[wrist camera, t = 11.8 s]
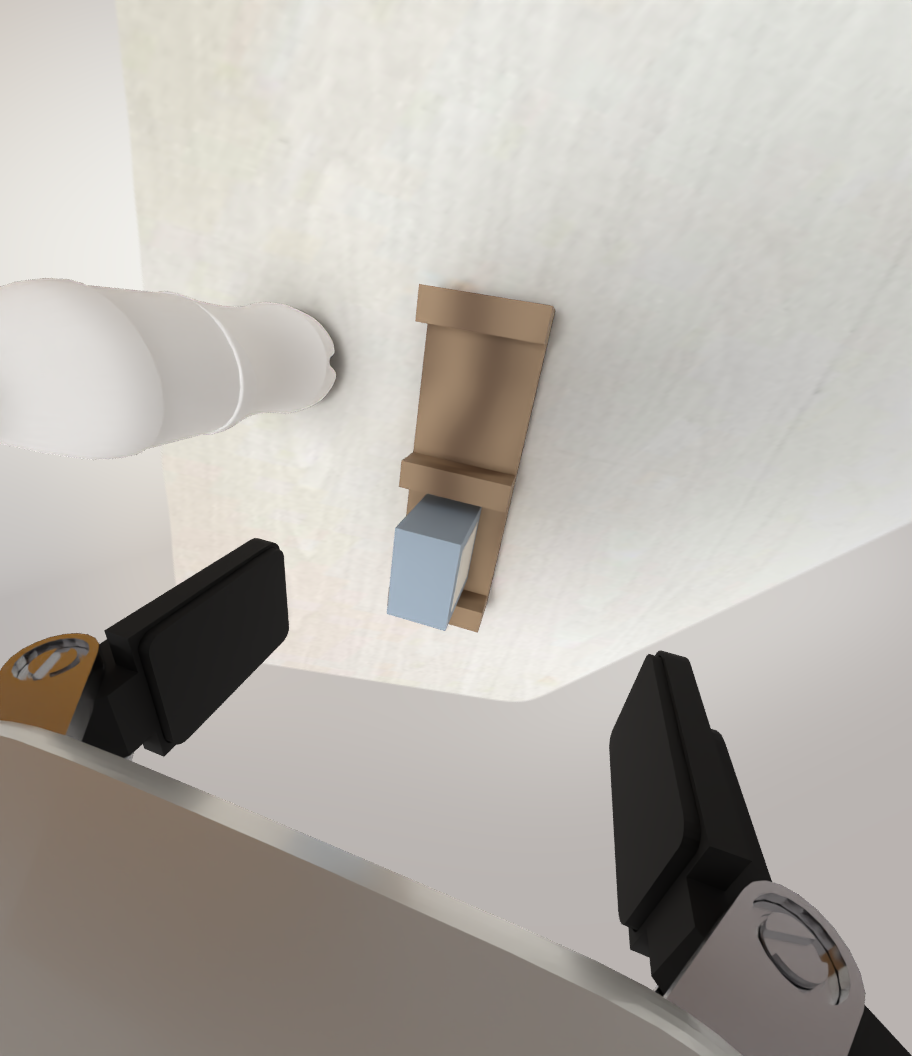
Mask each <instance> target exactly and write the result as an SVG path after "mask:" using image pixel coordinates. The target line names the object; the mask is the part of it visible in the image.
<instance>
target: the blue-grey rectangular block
mask: <svg viewBox="0 0 912 1056" xmlns="http://www.w3.org/2000/svg"><path fill="white" fill-rule="evenodd" d="M481 508H482V507H480V506H476V505H472V504H468V503H464V502H460V501H455V500H451V499H447V498H443V497H439V496H435V495H431V494H426V495H425V496H424V497H423V498H422V500H421V501H420V502H419V503H418V504H417V505H416V506H415V507H414V508H413V509H412V510H411V512H410V513H409V514H408V515H407V516H406V517H405V518H404V519H403V520H402V521H401V522H400V524H399V525H398V526H397V527H396V528H395V537H394V547H393V557H392V567H391V577H390V587H389V597H388V607H387V614H389V615H393V616H396V617H400V618H403V619H406V620H410V621H413V622H416V623H420V624H423V625H427V626H430V627H433V628H437V629H440V630H443V631H445V630H446V628H447V626H448V623H449V621H450V619H451V616H452V614H453V612H454V609H455V607H456V605H457V602H458V600H459V598H460V595H461V593H462V591H463V588H464V586H465V584H466V581H467V578H468V573H469V568H470V563H471V558H472V553H473V548H474V543H475V538H476V533H477V528H478V523H479V518H480V513H481Z"/></svg>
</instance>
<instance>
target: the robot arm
mask: <svg viewBox="0 0 912 1056" xmlns="http://www.w3.org/2000/svg"><path fill="white" fill-rule="evenodd" d="M288 631H289V621H288V608H287V594H286V581H285V567H284V555H283V552H282V551H281V550H280V549H279V546H278V545H277V544H276V543H273V542H269V541H266V540H262V539H258V538H254V539H251V540H250V541H248V542H246V543H245V544H243V545H242V546H240V547H238V548H237V549H235V550H234V551H232V552H230V553H229V554H227V555H225V556H224V557H222V558H221V559H219V560H217V561H216V562H214V563H213V564H211V565H209V566H208V567H206V568H205V569H203V570H201V571H200V572H198V573H196V574H195V575H193V576H192V577H190V578H188V579H187V580H185V581H184V582H182V583H180V584H179V585H177V586H175V587H174V588H172V589H171V590H169V591H167V592H166V593H164V594H163V595H161V596H159V597H158V598H156V599H155V600H153V601H152V602H150V603H148V604H146V605H145V606H143V607H142V608H140V609H138V610H137V611H135V612H134V613H132V614H130V615H129V616H127V617H126V618H124V619H122V620H121V621H119V622H117V623H116V624H114V625H113V626H111V627H110V628H108V629H106V630H105V634H106V637H107V640H105V641H104V642H102V643H101V644H99V643H98V641H97V640H96V638H94V637H92V636H90V635H88V634H81V633H71V634H62V635H57V636H53V637H49V638H46V639H43V640H41V641H38V642H35V643H33V644H31V645H29V646H27V647H25V648H23V649H22V650H20V651H19V652H17V653H16V654H15V655H13V656H12V657H11V658H10V659H9V660H8V661H7V662H6V663H5V664H4V665H3V667H2V668H1V670H0V1056H911V1054H910V1053H909V1052H908V1051H907V1050H906V1049H905V1048H904V1047H903V1046H902V1045H901V1044H900V1043H899V1041H898V1040H897V1039H896V1038H895V1037H894V1036H893V1035H892V1034H891V1033H890V1032H889V1031H888V1030H887V1028H886V1027H884V1025H883V1024H882V1023H881V1022H880V1021H879V1020H878V1019H877V1018H876V1017H875V1015H874V1014H873V1013H872V1012H871V1011H870V1010H869V1009H868V1008H867V1007H866V1006H865V1005H864V1003H865V990H864V985H863V982H862V977H861V973H860V971H859V969H858V967H857V964H856V962H855V960H854V958H853V956H852V954H851V952H850V950H849V948H848V947H847V946H846V944H845V943H844V941H843V940H842V938H841V937H840V936H839V934H838V933H837V931H836V930H835V928H834V927H833V926H832V925H831V924H830V923H829V922H828V921H827V920H826V919H825V918H824V916H823V915H822V914H821V913H820V912H819V911H818V910H817V909H816V908H815V907H813V906H812V905H811V904H809V902H807V901H806V900H805V899H804V898H802V897H801V896H800V895H799V894H797V893H795V892H793V891H791V890H790V889H788V888H786V887H784V886H782V885H780V884H776V883H773V882H772V880H771V878H770V875H769V872H768V869H767V866H766V863H765V860H764V857H763V854H762V851H761V848H760V845H759V842H758V839H757V836H756V833H755V830H754V827H753V824H752V821H751V818H750V815H749V812H748V809H747V807H746V803H745V801H744V798H743V794H742V792H741V789H740V786H739V783H738V780H737V777H736V774H735V772H734V768H733V765H732V762H731V759H730V756H729V753H728V750H727V747H726V744H725V742H724V739H723V737H722V735H721V734H720V733H719V732H717V731H716V730H713V729H711V728H710V725H709V722H708V719H707V716H706V712H705V709H704V706H703V703H702V700H701V696H700V693H699V690H698V687H697V684H696V680H695V677H694V674H693V671H692V667H691V664H690V662H689V660H688V659H687V658H686V657H682V656H679V655H675V654H671V653H668V652H664V651H658V652H657V653H656V655H655V656H654V655H651V654H648V655H647V656H646V658H645V660H644V662H643V665H642V667H641V669H640V671H639V673H638V676H637V678H636V680H635V682H634V684H633V687H632V689H631V691H630V693H629V695H628V698H627V700H626V702H625V704H624V706H623V708H622V711H621V713H620V715H619V717H618V719H617V722H616V724H615V726H614V728H613V730H612V733H611V737H610V745H609V749H610V750H609V751H610V767H611V768H610V769H611V788H612V804H613V805H612V806H613V824H614V842H615V860H616V879H617V895H618V896H617V897H618V912H619V918H620V922H621V923H622V924H623V925H625V926H627V927H629V940H630V949H631V950H633V951H635V952H638V953H640V954H642V955H645V956H647V957H649V958H650V966H651V976H652V977H653V979H654V980H655V982H656V983H657V986H656V987H655V989H654V990H651V989H649V988H648V987H646V986H644V985H642V984H640V983H638V982H636V981H634V980H632V979H630V978H628V977H626V976H624V975H622V974H620V973H619V972H617V971H615V970H612V969H611V968H609V967H607V966H605V965H603V964H601V963H599V962H597V961H595V960H593V959H591V958H588V957H586V956H584V955H582V954H579V953H577V952H575V951H573V950H571V949H569V948H566V947H564V946H562V945H560V944H558V943H555V942H553V941H551V940H549V939H546V938H544V937H542V936H540V935H538V934H535V933H533V932H531V931H529V930H527V929H524V928H522V927H520V926H518V925H515V924H513V923H511V922H509V921H507V920H504V919H502V918H500V917H498V916H495V915H493V914H491V913H488V912H486V911H484V910H481V909H479V908H477V907H474V906H472V905H469V904H467V903H465V902H463V901H460V900H458V899H456V898H453V897H451V896H449V895H446V894H444V893H442V892H440V891H437V890H435V889H432V888H430V887H428V886H425V885H423V884H421V883H419V882H416V881H414V880H412V879H409V878H407V877H405V876H402V875H400V874H398V873H395V872H393V871H390V870H388V869H386V868H384V867H381V866H379V865H377V864H374V863H372V862H370V861H367V860H365V859H363V858H360V857H358V856H355V855H353V854H351V853H349V852H346V851H344V850H341V849H339V848H337V847H334V846H332V845H330V844H327V843H325V842H323V841H320V840H318V839H316V838H313V837H311V836H309V835H306V834H304V833H301V832H299V831H297V830H294V829H292V828H290V827H287V826H285V825H283V824H280V823H278V822H275V821H273V820H271V819H268V818H266V817H263V816H261V815H259V814H256V813H254V812H252V811H249V810H247V809H244V808H242V807H240V806H237V805H235V804H233V803H230V802H228V801H226V800H223V799H220V798H218V797H216V796H214V795H211V794H209V793H206V792H204V791H201V790H199V789H197V788H194V787H192V786H190V785H187V784H185V783H182V782H180V781H178V780H175V779H173V778H170V777H168V776H166V775H163V774H161V773H158V772H156V771H154V770H151V769H149V768H146V767H144V766H141V765H139V764H137V763H134V762H132V758H133V754H134V751H135V750H136V749H138V748H139V747H140V746H141V745H142V744H143V746H144V748H145V749H147V750H149V751H152V752H154V753H156V754H159V755H161V756H165V755H166V754H167V753H168V752H169V751H170V750H171V749H172V748H173V747H174V746H175V745H176V744H181V743H183V742H185V741H186V740H187V739H188V738H189V737H190V736H191V735H192V734H193V733H194V732H195V731H196V730H197V729H198V728H199V727H200V726H201V725H202V724H203V723H204V722H205V721H206V720H207V719H208V718H209V717H210V716H211V715H212V714H213V713H214V712H215V710H217V708H219V707H220V706H221V705H222V703H224V701H225V700H226V699H227V698H228V697H229V696H230V695H231V694H232V693H233V692H234V691H235V690H236V689H237V688H238V687H239V686H240V685H241V684H242V683H243V682H244V681H245V680H246V679H247V678H248V677H249V676H250V675H251V674H252V673H253V671H255V670H256V669H257V668H258V667H259V666H260V665H261V664H262V663H263V662H264V661H265V660H266V659H267V658H268V657H269V656H270V654H271V653H272V652H273V651H274V650H275V649H276V648H277V647H278V646H279V645H280V644H281V643H282V642H283V641H284V640H285V638H286V637H287V634H288Z"/></svg>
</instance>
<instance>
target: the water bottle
mask: <svg viewBox="0 0 912 1056" xmlns="http://www.w3.org/2000/svg"><path fill="white" fill-rule="evenodd" d="M334 352H335V349H334V344H333V341H332V339H331V338H330V336H329V334H328V333H327V331H326V330H325V329H324V328H323V326H322V325H321V324H320V323H319V322H318V321H317V320H315V319H314V318H313V317H311V316H309V315H308V314H306V313H304V312H302V311H300V310H297V309H295V308H293V307H290V306H288V305H285V304H278V303H271V302H258V303H253V304H250V305H247V306H240V307H231V306H222V305H215V304H210V303H206V302H201V301H198V300H195V299H192V298H189V297H186V296H184V295H181V294H178V293H174V292H168V291H159V292H148V291H138V290H129V289H119V288H110V287H100V286H89V285H85V284H83V283H80V282H76V281H73V280H69V279H53V278H52V279H51V278H42V279H32V280H25V281H17V282H13V283H10V284H7V285H3V286H0V444H3V445H8V446H13V447H18V448H22V449H27V450H32V451H37V452H42V453H48V454H55V455H61V456H68V457H74V458H83V459H114V458H122V457H127V456H132V455H137V454H139V453H141V452H142V451H145V450H146V449H149V448H152V447H156V446H160V445H164V444H168V443H171V442H175V441H179V440H183V439H187V438H190V437H194V436H198V435H209V434H215V433H218V432H222V431H225V430H227V429H229V428H231V427H233V426H235V425H236V424H238V423H239V422H240V421H242V420H243V419H245V418H247V417H249V416H251V415H254V414H258V413H292V412H296V411H300V410H303V409H306V408H309V407H311V406H313V405H315V404H316V403H318V402H319V401H321V400H322V399H323V398H324V397H325V396H326V395H327V394H328V392H329V391H330V389H331V388H332V386H333V384H334V382H335V379H336V373H335V371H334V369H333V368H332V367H330V363H329V360H330V357H331V356H333V354H334Z"/></svg>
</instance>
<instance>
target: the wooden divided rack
mask: <svg viewBox="0 0 912 1056" xmlns="http://www.w3.org/2000/svg"><path fill="white" fill-rule="evenodd" d="M554 313H555V309H554V307H553V306H550V305H544V304H538V303H531V302H525V301H519V300H513V299H507V298H501V297H495V296H489V295H483V294H476V293H470V292H464V291H458V290H452V289H446V288H440V287H434V286H428V285H422V284H419V290H418V300H417V310H416V321H417V322H422V323H428V325H427V334H426V343H425V352H424V361H423V370H422V379H421V388H420V397H419V406H418V415H417V424H416V433H415V442H414V451H413V453H411V454H410V455H409V456H407V457H406V458H405V459H403V460H402V462H401V472H400V482H399V487H402V488H406V489H409V496H408V505H407V514H406V516H407V515H408V514H409V513H410V512H411V510H412V509H413V508H414V507H415V506H416V505H417V504H418V503H419V502H420V501H421V500H422V498H423V497H424V496H425V495H426V494H431V495H435V496H439V497H443V498H447V499H451V500H455V501H460V502H464V503H468V504H472V505H476V506H480V507H482V508H481V513H480V518H479V523H478V528H477V533H476V538H475V543H474V548H473V553H472V558H471V563H470V568H469V573H468V578H467V581H466V584H465V586H464V588H463V591H462V593H461V595H460V598H459V600H458V602H457V605H456V607H455V609H454V612H453V614H452V616H451V619H450V621H449V623H448V624H450V625H454V626H457V627H461V628H464V629H467V630H471V631H474V632H478V630H479V627H480V624H481V621H482V617H483V614H484V611H485V608H486V605H487V600H488V596H489V592H490V587H491V583H492V579H493V575H494V570H495V566H496V562H497V557H498V553H499V549H500V545H501V540H502V536H503V532H504V528H505V523H506V519H507V515H508V510H509V506H510V502H511V498H512V493H513V489H514V485H515V480H516V476H517V472H518V468H519V463H520V459H521V455H522V450H523V446H524V442H525V438H526V433H527V429H528V425H529V420H530V416H531V412H532V408H533V403H534V399H535V395H536V390H537V386H538V382H539V378H540V373H541V369H542V365H543V360H544V356H545V352H546V348H547V343H548V339H549V335H550V330H551V326H552V322H553V318H554ZM389 587H390V586H389ZM388 597H389V593H388ZM387 606H388V603H387Z"/></svg>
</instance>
